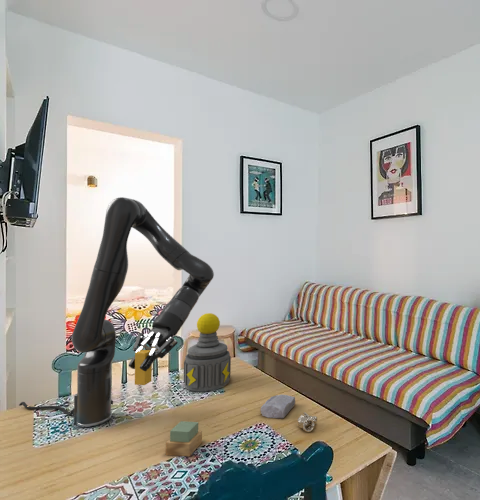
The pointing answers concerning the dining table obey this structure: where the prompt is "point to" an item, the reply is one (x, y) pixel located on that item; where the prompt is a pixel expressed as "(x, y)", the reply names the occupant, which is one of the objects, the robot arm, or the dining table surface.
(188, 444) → the tower base
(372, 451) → the dining table surface
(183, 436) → the block
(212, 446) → the dining table surface
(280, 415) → the stone block
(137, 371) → the bar
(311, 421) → the ornament
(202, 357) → the decorative lamp
